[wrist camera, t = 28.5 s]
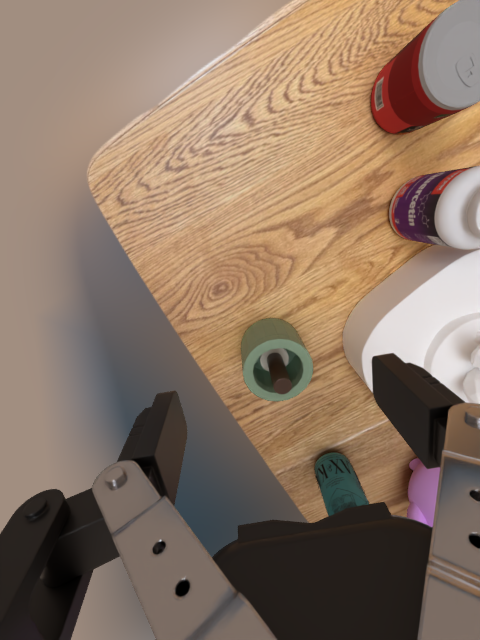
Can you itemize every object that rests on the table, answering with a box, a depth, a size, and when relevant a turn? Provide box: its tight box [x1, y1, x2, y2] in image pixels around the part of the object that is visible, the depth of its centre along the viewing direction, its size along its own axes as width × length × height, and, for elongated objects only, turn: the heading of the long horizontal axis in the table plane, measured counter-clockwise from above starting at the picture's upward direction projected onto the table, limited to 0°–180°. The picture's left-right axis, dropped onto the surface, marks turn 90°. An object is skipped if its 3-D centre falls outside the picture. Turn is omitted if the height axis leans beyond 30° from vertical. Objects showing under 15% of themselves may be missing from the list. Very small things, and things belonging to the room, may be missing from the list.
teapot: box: [407, 458, 440, 527], centre depth 50 cm, size 22×16×14 cm
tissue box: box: [343, 245, 480, 404], centre depth 40 cm, size 25×25×16 cm
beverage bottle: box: [314, 453, 369, 516], centre depth 45 cm, size 6×7×20 cm
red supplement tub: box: [371, 0, 480, 134], centre depth 32 cm, size 8×8×11 cm
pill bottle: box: [389, 166, 480, 250], centre depth 34 cm, size 8×8×14 cm
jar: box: [241, 318, 313, 401], centre depth 43 cm, size 9×9×8 cm
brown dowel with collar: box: [259, 348, 292, 394], centre depth 41 cm, size 4×4×11 cm
